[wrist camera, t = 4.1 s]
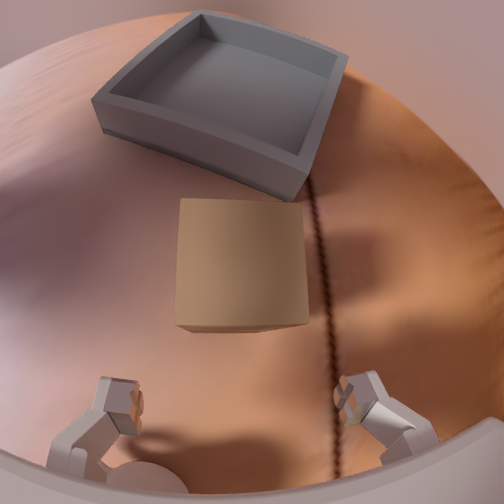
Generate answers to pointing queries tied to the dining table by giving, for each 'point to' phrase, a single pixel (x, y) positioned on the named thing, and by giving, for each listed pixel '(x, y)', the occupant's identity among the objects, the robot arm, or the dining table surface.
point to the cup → (144, 477)
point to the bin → (228, 99)
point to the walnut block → (240, 266)
